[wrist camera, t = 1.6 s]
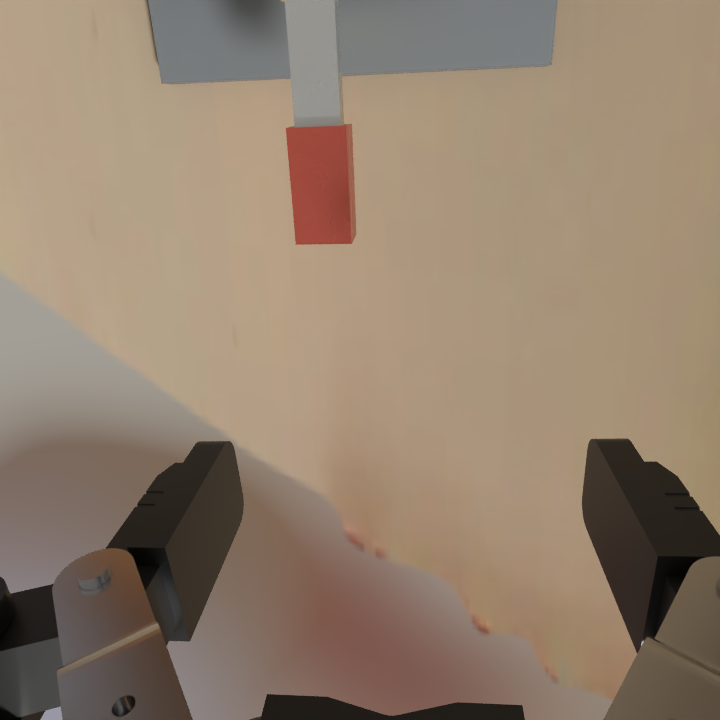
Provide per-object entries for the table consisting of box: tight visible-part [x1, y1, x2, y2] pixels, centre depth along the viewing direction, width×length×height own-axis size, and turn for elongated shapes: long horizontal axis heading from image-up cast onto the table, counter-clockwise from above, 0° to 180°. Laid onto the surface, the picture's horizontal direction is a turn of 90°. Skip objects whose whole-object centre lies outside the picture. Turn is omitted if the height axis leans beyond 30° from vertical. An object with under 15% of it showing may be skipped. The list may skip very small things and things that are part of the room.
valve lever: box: [285, 0, 356, 244], centre depth 23 cm, size 16×3×2 cm, turn 2°
